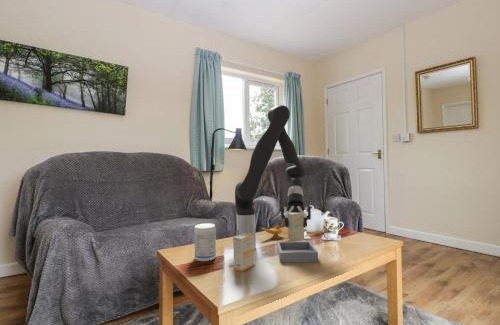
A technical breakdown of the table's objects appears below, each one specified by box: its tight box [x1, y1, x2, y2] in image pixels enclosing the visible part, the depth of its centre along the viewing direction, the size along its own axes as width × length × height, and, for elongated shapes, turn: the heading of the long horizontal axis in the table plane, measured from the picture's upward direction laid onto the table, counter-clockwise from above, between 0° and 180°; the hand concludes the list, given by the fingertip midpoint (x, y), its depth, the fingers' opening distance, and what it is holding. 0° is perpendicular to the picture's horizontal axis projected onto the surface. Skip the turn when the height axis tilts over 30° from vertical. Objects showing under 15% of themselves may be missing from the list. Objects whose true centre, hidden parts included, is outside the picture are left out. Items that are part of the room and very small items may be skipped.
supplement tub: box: [193, 222, 217, 262], centre depth 121 cm, size 10×10×15 cm
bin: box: [276, 240, 319, 263], centre depth 122 cm, size 16×16×4 cm
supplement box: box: [232, 233, 256, 272], centre depth 110 cm, size 8×5×13 cm, turn 141°
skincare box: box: [287, 212, 305, 242], centre depth 123 cm, size 6×4×12 cm
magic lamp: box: [258, 219, 286, 239], centre depth 153 cm, size 7×18×11 cm, turn 117°
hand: (295, 226), depth 121 cm, fingers closed on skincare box, 7 cm apart
